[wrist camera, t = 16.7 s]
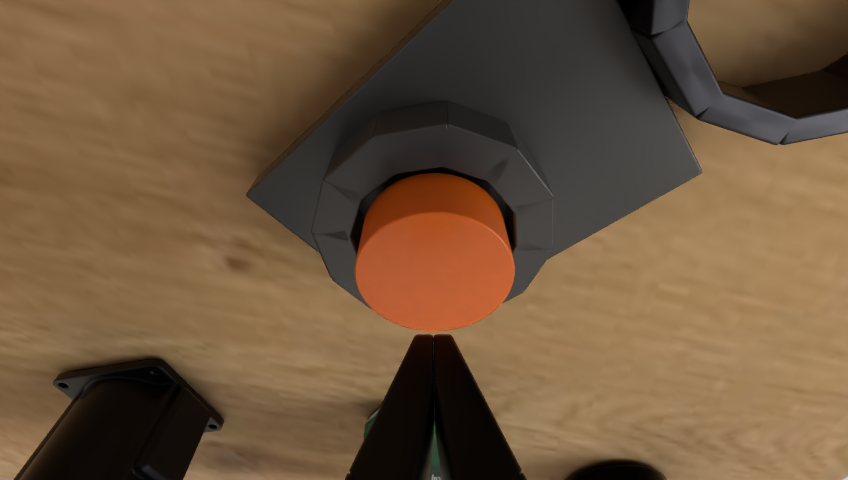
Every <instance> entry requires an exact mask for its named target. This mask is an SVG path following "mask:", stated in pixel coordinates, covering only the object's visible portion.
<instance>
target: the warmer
mask: <svg viewBox="0 0 848 480" xmlns="http://www.w3.org/2000/svg"><path fill="white" fill-rule="evenodd" d="M630 28H631V26H630V25H629V23H628V20H627V18H626V16H625V14H624V12H623V10H622V8H621V6H620V4H619V2H618V0H443V1H442V2H441V3H440V4H439V5H438V6H437V7H436V8H435V9H434V10H433V11H432V12H431V13H430V14H429V15H428V16H427V17H426V18H425V19H424V20H422V21H421V22H420V23H419V24H418V25H417V26H416V27H415V28H414V29H413V30H412V31H411V32H410V33H409V34H408V35H407V36H406V37H405V38H404V39H402V40H401V41H400V42H399V43H398V44H397V45H396V46H395V47H394V48H393V49H392V50H391V51H390V52H389V53H388V54H387V55H386V56H385V57H384V58H383V59H381V60H380V61H379V62H378V63H377V64H376V65H375V66H374V67H373V68H372V69H371V70H370V71H369V72H368V73H367V74H366V75H365V76H364V77H363V78H362V79H360V80H359V81H358V82H357V83H356V84H355V85H354V86H353V87H352V88H351V89H350V90H349V91H348V92H347V93H346V94H345V95H344V96H343V97H342V98H340V99H339V100H338V101H337V102H336V103H335V104H334V105H333V106H332V107H331V108H330V109H329V110H328V111H327V112H326V113H325V114H324V115H323V116H322V117H321V118H319V119H318V120H317V121H316V122H315V123H314V124H313V125H312V126H311V127H310V128H309V129H308V130H307V131H306V132H305V133H304V134H303V135H302V136H301V137H299V138H298V139H297V140H296V141H295V142H294V143H293V144H292V145H291V146H290V147H289V148H288V149H287V150H286V151H285V152H284V153H283V154H282V155H281V156H280V157H278V158H277V159H276V160H275V161H274V162H273V163H272V164H271V165H270V166H269V167H268V168H267V169H266V170H265V171H264V172H263V173H262V174H261V175H260V176H259V177H257V179H256V180H255V182H254V183H253V185H252V186H251V187H250V189H249V190H248V192H247V193H246V196H247V197H248V198H249V199H251V200H252V201H253V202H254V203H256V204H257V205H258V206H260V207H261V208H262V209H263V210H265V211H266V212H267V213H269V214H270V215H271V216H272V217H274V218H275V219H276V220H278V221H279V222H280V223H281V224H283V225H284V226H285V227H287V228H288V229H289V230H291V231H292V232H293V233H294V234H296V235H297V236H298V237H300V238H301V239H302V240H303V241H305V242H306V243H307V244H309V245H310V246H311V247H312V248H314V249H315V250H316V251H318V252H319V253H320V254H321V256H322V259H323V261H324V263H325V266H326V268H327V270H328V272H329V275H330V277H331V278H332V280H333V281H334V282H336V283H337V284H338V285H340V286H341V287H342V288H344V289H345V290H346V291H348V292H349V293H350V294H352V295H353V296H354V297H356V298H357V299H358V300H360V301H361V302H362V303H364V304H365V305H366V306H368V307H369V308H370V309H372V308H371V307H370V306H369V305H368V304H367V303H366V302H365V300H364V299H363V297H362V296H361V294H360V292H359V290H358V287H357V284H356V281H355V273H354V272H355V262H356V257H357V253H358V248H359V243H360V239H361V234H362V229H363V225H364V220H365V216H366V214H367V211H368V209H369V207H370V206H371V204H372V202H373V201H374V200H375V199H376V197H377V196H378V195H379V194H380V193H381V192H382V191H384V190H385V189H386V188H388V187H389V186H391V185H392V184H394V183H396V182H398V181H400V180H402V179H404V178H407V177H410V176H414V175H419V174H426V173H443V174H451V175H455V176H458V177H462V178H464V179H467V180H469V181H471V182H473V183H475V184H477V185H478V186H480V187H481V188H482V189H484V190H485V191H486V192H487V193H488V194H489V195H490V196H491V197H492V198H493V199H494V201H495V202H496V203H497V205H498V207H499V209H500V211H501V213H502V216H503V220H504V224H505V228H506V231H507V235H508V239H509V243H510V247H511V251H512V255H513V259H514V265H515V276H514V281H513V284H512V287H511V290H510V292H509V294H508V295H507V297H506V299H505V300H504V301H503V302H502V303H504V302H506V301H508V300H510V299H512V298H513V297H515V296H517V295H519V294H521V293H523V292H524V291H525V290H526V288H527V287H528V285H529V284H530V283H531V281H532V280H533V278H534V277H535V275H536V274H537V273H538V271H539V270H540V268H541V267H542V266H543V264H544V263H545V261H546V260H547V259H549V258H551V257H553V256H554V255H556V254H558V253H560V252H561V251H563V250H565V249H567V248H569V247H570V246H572V245H574V244H576V243H578V242H579V241H581V240H583V239H585V238H587V237H588V236H590V235H592V234H594V233H596V232H597V231H599V230H601V229H603V228H604V227H606V226H608V225H610V224H612V223H613V222H615V221H617V220H619V219H621V218H622V217H624V216H626V215H628V214H630V213H631V212H633V211H635V210H637V209H639V208H640V207H642V206H644V205H646V204H647V203H649V202H651V201H653V200H655V199H656V198H658V197H660V196H662V195H664V194H665V193H667V192H669V191H671V190H673V189H674V188H676V187H678V186H680V185H682V184H683V183H685V182H687V181H689V180H690V179H692V178H694V177H696V176H698V175H699V174H701V173H702V169H701V167H700V165H699V163H698V161H697V159H696V157H695V155H694V153H693V151H692V149H691V147H690V145H689V143H688V141H687V139H686V137H685V135H684V133H683V131H682V129H681V127H680V125H679V123H678V121H677V119H676V117H675V115H674V113H673V111H672V109H671V107H670V105H669V103H668V101H667V99H666V97H665V95H664V93H663V91H662V89H661V86H660V84H659V82H658V80H657V78H656V76H655V74H654V72H653V70H652V68H651V66H650V64H649V62H648V61H647V59H646V57H645V55H644V53H643V51H642V50H641V48H640V46H639V44H638V43H637V41H636V39H635V38H634V36H633V34H632V32H631V30H630Z"/></svg>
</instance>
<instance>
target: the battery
mask: <svg viewBox="0 0 848 480" xmlns="http://www.w3.org/2000/svg"><path fill="white" fill-rule="evenodd" d="M572 480H667V479H666V477H665V476H664V475H663V474H662V473H661V472H659V471H657V470H655V469H653V468H649V467H645V466H639V465H614V466H607V467H602V468H597V469H594V470H590V471H587V472H585V473H582V474H580V475H578V476H576V477H575V478H573V479H572Z"/></svg>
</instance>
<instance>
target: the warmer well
mask: <svg viewBox="0 0 848 480" xmlns="http://www.w3.org/2000/svg"><path fill="white" fill-rule="evenodd" d="M618 2H619V4H620V6H621V8H622V10H623V12H624V14H625V16H626V18H627V20H628V23H629V25H630V26H631V28H630V30H631V32H632V34H633V36H634V38H635V39H636V41H637V43H638V44H639V46H640V48H641V50H642V51H643V53H644V55H645V57H646V59H647V61H648V62H649V64H650V66H651V68H652V70H653V72H654V74H655V76H656V78H657V80H658V82H659V84H660V86H661V89H662V91H663V93H664V95H665V96H666V97H667V98H669V99H670V100H672V101H673V102H674V103H676V104H677V105H678V106H680V107H681V108H683V109H684V110H685V111H687V112H688V113H689V114H691V115H692V116H694V117H695V118H696V119H698V120H700V121H703V122H706V123H709V124H712V125H715V126H718V127H721V128H724V129H727V130H731V131H734V132H737V133H740V134H743V135H746V136H749V137H752V138H755V139H758V140H761V141H764V142H767V143H770V144H773V145H778V144H781V145H786V144H791V143H796V142H801V141H807V140H812V139H817V138H822V137H827V136H832V135H838V134H843V133H848V55H846V56H844V57H843V58H841V59H840V60H838V61H836V62H835V63H833V64H832V65H830V66H829V67H827V68H825V69H824V70H822V71H819V72H814V73H810V74H805V75H800V76H796V77H791V78H786V79H782V80H777V81H772V82H768V83H763V84H758V85H754V86H749V87H744V88H739V87H736V86H733V85H730V84H728V83H725V82H722V81H719V80H717V79H716V77H715V75H714V73H713V71H712V69H711V67H710V65H709V63H708V61H707V59H706V57H705V55H704V53H703V51H702V49H701V47H700V45H699V43H698V41H697V39H696V37H695V35H694V33H693V31H692V29H691V27H690V25H689V23H688V21H687V15H688V8H689V0H618Z"/></svg>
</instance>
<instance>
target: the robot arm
mask: <svg viewBox="0 0 848 480" xmlns="http://www.w3.org/2000/svg"><path fill="white" fill-rule="evenodd" d="M433 341H434V354H433ZM53 385H54V386H55V387H57V388H58V389H59V390H61V391H62V392H63V393H65V394H66V395H67V396H69V397H70V398H71V399H73V401H72V402H71V403H70V405H69V406H68V407H67V409H66V410H65V411H64V413H63V414H62V415H61V417H60V418H59V419H58V421H57V422H56V423H55V425H54V426H53V427H52V429H51V430H50V431H49V433H48V434H47V435H46V437H45V438H44V439H43V441H42V442H41V443H40V445H39V446H38V448H37V449H36V450H35V452H34V453H33V454H32V456H31V457H30V458H29V460H28V461H27V462H26V464H25V465H24V466H23V468H22V469H21V470H20V472H19V473H18V474H17V476H16V477H15V478H14V480H183V478H184V476H185V474H186V471H187V469H188V467H189V465H190V462H191V460H192V458H193V456H194V453H195V451H196V449H197V446H198V444H199V442H200V440H201V437H202V435H203V433H204V432H211V431H218V430H220V429H221V428H222V426H223V423H224V420H223V419H222V418H221V417H220V416H219V415H218V414H217V413H216V412H215V411H214V410H213V409H212V408H211V407H210V406H209V405H208V404H207V403H206V402H205V401H204V400H203V399H202V398H201V397H200V396H199V395H198V394H197V393H196V392H195V391H194V390H193V389H192V388H191V387H190V386H189V385H188V384H187V383H186V382H185V381H184V380H183V379H182V378H181V377H180V376H179V375H178V374H177V373H176V372H175V371H174V370H173V369H172V368H171V367H170V366H169V365H168V364H167V363H166V362H164V361H162V360H158V359H151V360H145V361H138V362H132V363H125V364H119V365H113V366H106V367H100V368H93V369H87V370H80V371H74V372H68V373H61V374H59V375H58V376H57V378H56V379H55V380H54V381H53ZM434 410H435V434H436V443H437V450H438V458H439V465H440V473H441V480H527V479H526V477H525V475H524V474H523V473H521V468H520V466H519V464H518V462H517V460H516V458H515V456H514V454H513V453H512V451H511V449H510V447H509V445H508V443H507V441H506V439H505V437H504V435H503V433H502V431H501V429H500V427H499V426H498V424H497V422H496V420H495V418H494V416H493V414H492V412H491V410H490V408H489V406H488V404H487V402H486V400H485V398H484V397H483V395H482V393H481V391H480V389H479V387H478V385H477V383H476V381H475V379H474V377H473V375H472V373H471V371H470V370H469V368H468V366H467V364H466V362H465V360H464V358H463V356H462V354H461V352H460V350H459V348H458V346H457V344H456V342H455V341H454V339H453V337H452V336H451V335H450V334H436V335H434V338H433V336H432V335H430V334H425V335H416V336H415V337H414V339H413V341H412V343H411V345H410V347H409V349H408V351H407V353H406V355H405V357H404V359H403V361H402V363H401V365H400V367H399V369H398V371H397V373H396V376H395V378H394V380H393V382H392V384H391V386H390V388H389V390H388V392H387V394H386V396H385V398H384V400H383V402H382V404H381V406H380V408H379V411H378V413H377V415H376V417H375V419H374V421H373V423H372V425H371V427H370V429H369V431H368V433H367V435H366V437H365V439H364V441H363V443H362V445H361V448H360V450H359V452H358V454H357V456H356V458H355V460H354V462H353V464H352V466H351V468H350V474H347V476H346V478H345V480H429V478H430V469H431V459H432V449H433V440H434Z"/></svg>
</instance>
